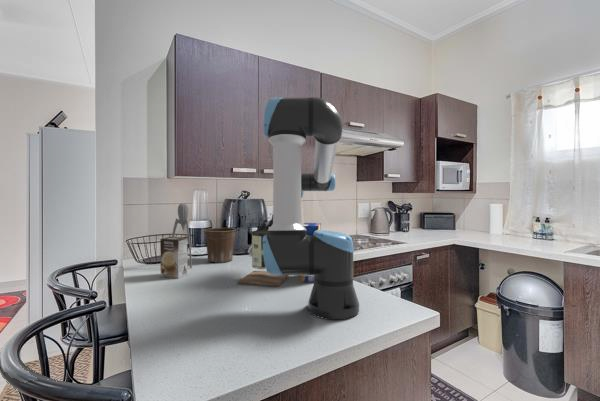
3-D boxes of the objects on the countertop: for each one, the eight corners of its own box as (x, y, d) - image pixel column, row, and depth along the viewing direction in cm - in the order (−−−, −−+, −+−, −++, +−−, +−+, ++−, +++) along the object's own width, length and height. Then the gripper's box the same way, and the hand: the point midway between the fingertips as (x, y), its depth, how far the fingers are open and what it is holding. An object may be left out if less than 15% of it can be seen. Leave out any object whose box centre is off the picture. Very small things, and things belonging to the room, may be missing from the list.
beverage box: (301, 281, 117) (301, 225, 116) (305, 274, 127) (304, 222, 127) (318, 282, 116) (318, 226, 115) (321, 274, 126) (320, 223, 126)
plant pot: (229, 255, 165) (228, 226, 164) (242, 261, 152) (241, 229, 151) (199, 259, 155) (199, 228, 155) (210, 265, 142) (210, 232, 142)
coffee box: (159, 277, 124) (159, 238, 123) (170, 273, 130) (169, 236, 129) (178, 278, 121) (177, 239, 121) (188, 274, 127) (187, 237, 127)
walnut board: (277, 287, 110) (277, 284, 110) (237, 283, 114) (237, 281, 114) (289, 275, 126) (289, 272, 126) (254, 272, 130) (253, 270, 130)
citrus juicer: (191, 262, 149) (190, 202, 148) (202, 265, 143) (201, 203, 142) (168, 267, 140) (167, 203, 139) (179, 270, 134) (178, 204, 133)
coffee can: (280, 263, 124) (280, 229, 124) (273, 270, 114) (273, 233, 114) (257, 262, 126) (256, 229, 126) (248, 268, 116) (247, 232, 116)
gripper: (308, 219, 126) (286, 264, 114) (267, 217, 139) (243, 257, 126) (301, 207, 121) (277, 253, 109) (259, 206, 134) (234, 246, 122)
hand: (259, 255), depth 118 cm, fingers closed on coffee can, 10 cm apart
